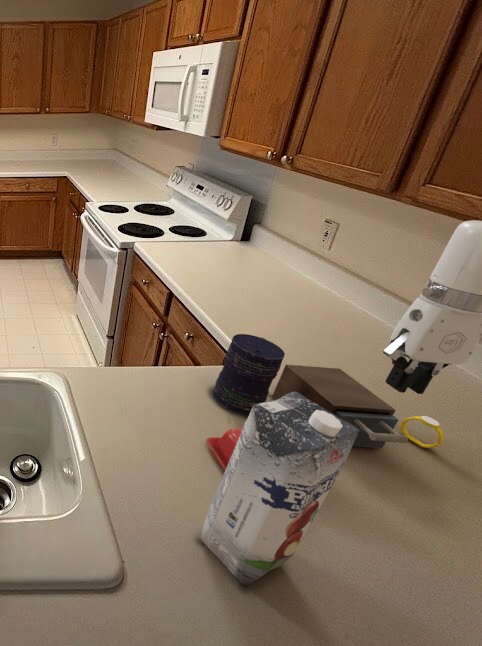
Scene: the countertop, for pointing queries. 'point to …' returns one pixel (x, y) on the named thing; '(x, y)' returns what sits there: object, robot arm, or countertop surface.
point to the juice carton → (275, 484)
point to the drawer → (372, 427)
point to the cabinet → (329, 389)
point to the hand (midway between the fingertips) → (403, 387)
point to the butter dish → (224, 445)
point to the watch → (428, 422)
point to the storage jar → (247, 373)
